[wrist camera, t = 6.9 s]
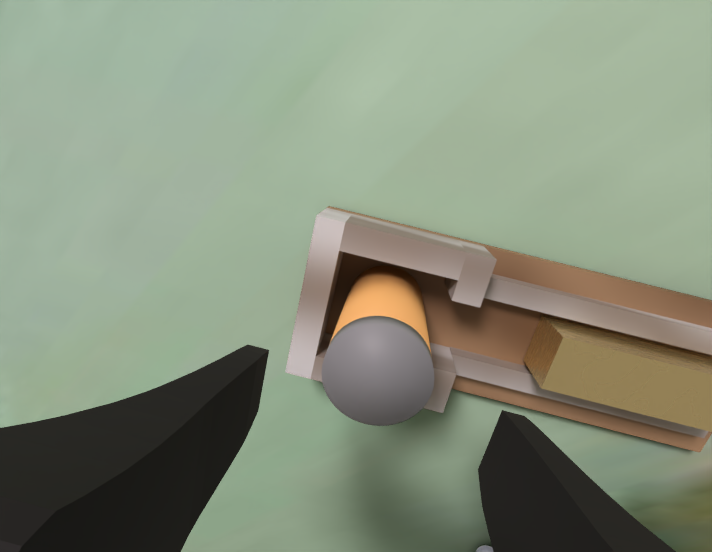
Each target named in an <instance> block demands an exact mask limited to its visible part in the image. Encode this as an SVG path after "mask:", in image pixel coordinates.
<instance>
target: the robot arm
mask: <svg viewBox="0 0 712 552" xmlns="http://www.w3.org/2000/svg"><path fill="white" fill-rule="evenodd" d="M268 353H269V350H267V349H263V348H259V347H255V346H251V345H246V346H244V347H242V348H240V349H238V350H236V351H234V352H232V353H230V354H228V355H226V356H225V357H223V358H221V359H219V360H217V361H215V362H213V363H211V364H209V365H207V366H205V367H203V368H201V369H199V370H197V371H194V372H192V373H190V374H188V375H185V376H183V377H181V378H178V379H176V380H174V381H171V382H169V383H167V384H165V385H162V386H160V387H157V388H155V389H152V390H149V391H147V392H144V393H141V394H138V395H135V396H132V397H129V398H126V399H123V400H120V401H117V402H114V403H110V404H107V405H103V406H99V407H95V408H91V409H88V410H84V411H80V412H76V413H72V414H69V415H65V416H60V417H56V418H51V419H46V420H41V421H37V422H32V423H26V424H21V425H15V426H10V427H4V428H0V552H181V550H182V548H183V546H184V543H185V541H186V539H187V537H188V535H189V534H190V532H191V530H192V528H193V526H194V525H195V523H196V521H197V519H198V518H199V516H200V514H201V513H202V511H203V509H204V508H205V506H206V504H207V503H208V501H209V499H210V498H211V496H212V495H213V493H214V491H215V490H216V488H217V486H218V485H219V483H220V481H221V480H222V478H223V476H224V475H225V473H226V472H227V470H228V468H229V467H230V465H231V463H232V462H233V460H234V458H235V457H236V455H237V453H238V452H239V450H240V448H241V447H242V445H243V443H244V441H245V439H246V437H247V435H248V432H249V430H250V428H251V426H252V424H253V421H254V419H255V417H256V415H257V412H258V408H259V403H260V397H261V392H262V386H263V380H264V375H265V369H266V364H267V358H268ZM478 472H479V482H480V491H481V499H482V507H483V511H484V515H485V520H486V524H487V528H488V532H489V536H490V540H491V544H492V547H490V546H486V545H483V546H480V547H478V549H477V550H476V552H676V551H674V550H673V549H672V548H671V547H669V546H668V545H667V544H666V543H664V542H663V541H662V540H661V539H659V538H658V537H657V536H656V535H654V534H653V533H652V532H651V531H649V530H648V529H647V528H646V527H644V526H643V525H642V524H641V523H640V522H638V521H637V520H636V519H635V518H634V517H632V516H631V515H630V514H629V513H628V512H627V511H626V510H624V509H623V508H622V507H621V506H620V505H619V504H618V503H617V502H615V501H614V500H613V499H612V498H611V497H610V496H609V495H608V494H607V493H605V492H604V491H603V490H602V489H601V488H600V487H599V486H598V485H597V484H596V483H595V482H594V481H592V480H591V479H590V478H589V477H588V476H587V475H586V474H585V473H584V472H583V471H582V470H581V469H580V468H579V467H578V466H577V465H576V464H575V463H574V462H573V461H572V460H571V459H570V458H569V457H568V456H566V455H565V454H564V453H563V452H562V451H561V450H560V449H559V448H558V447H557V446H556V445H555V444H554V443H553V442H552V441H551V440H550V439H549V438H548V437H547V436H546V435H545V434H544V433H543V432H542V431H541V430H540V429H539V428H538V427H537V426H535V425H534V424H533V423H532V422H531V421H530V420H529V419H527V418H526V417H525V416H522V415H518V414H514V413H511V412H507V411H503V410H502V412H501V415H500V417H499V419H498V422H497V424H496V427H495V429H494V432H493V434H492V437H491V439H490V442H489V444H488V446H487V449H486V451H485V454H484V456H483V459H482V461H481V464H480V466H479V469H478Z"/></svg>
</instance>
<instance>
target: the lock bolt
mask: <svg viewBox="0 0 712 552" xmlns="http://www.w3.org/2000/svg"><path fill="white" fill-rule="evenodd" d="M524 362H525V363H526V365H527V367H528V368H529V370H530V371H531V373H532V375H533V376H534V378H535V379H536V381H537V383H538V384H539V386H540V388H541V389H545V390H549V391H553V392H557V393H561V394H565V395H569V396H573V397H577V398H580V399H584V400H588V401H592V402H596V403H600V404H604V405H608V406H612V407H616V408H620V409H623V410H627V411H631V412H635V413H639V414H643V415H647V416H651V417H655V418H659V419H663V420H666V421H670V422H674V423H678V424H682V425H686V426H690V427H694V428H698V429H702V430H706V431H709V432H712V357H711V356H707V355H703V354H699V353H695V352H691V351H687V350H683V349H679V348H675V347H671V346H667V345H663V344H659V343H655V342H651V341H647V340H643V339H639V338H635V337H631V336H627V335H623V334H619V333H615V332H611V331H607V330H603V329H599V328H595V327H591V326H587V325H583V324H579V323H575V322H571V321H567V320H563V319H559V318H555V317H551V316H547V315H543V314H542V316H541V318H540V320H539V323H538V325H537V328H536V330H535V333H534V335H533V338H532V340H531V342H530V345H529V347H528V350H527V352H526V355H525V357H524Z"/></svg>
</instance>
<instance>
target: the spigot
mask: <svg viewBox="0 0 712 552" xmlns="http://www.w3.org/2000/svg"><path fill="white" fill-rule="evenodd" d="M322 383H323V386H324V389H325V392H326V394H327V396H328V398H329V399H330V401H331V402H332V403H333V404H334V406H335V407H336V408H337V409H338V410H339V411H341V412H342V413H343V414H345V415H346V416H348V417H349V418H351V419H353V420H356V421H358V422H361V423H364V424H369V425H377V426H385V425H393V424H397V423H400V422H403V421H405V420H408V419H409V418H411V417H413V416H414V415H416V414H417V413H418V412H419V411H420V410H421V409H422V408H423V407H424V406H425V405H426V403H427V402H428V400H429V398H430V396H431V394H432V391H433V387H434V369H433V362H432V356H431V349H430V343H429V336H428V330H427V324H426V317H425V311H424V304H423V298H422V293H421V290H420V287H419V285H418V283H417V282H416V280H415V279H414V278H413V277H412V276H411V275H410V274H409V273H407V272H406V271H404V270H402V269H400V268H397V267H394V266H387V265H383V266H376V267H372V268H370V269H368V270H366V271H364V272H363V273H361V274H360V275H359V276H358V277H357V278H356V279H355V281H354V282H353V284H352V286H351V288H350V291H349V294H348V296H347V299H346V302H345V304H344V307H343V310H342V312H341V315H340V317H339V320H338V323H337V325H336V328H335V331H334V333H333V336H332V339H331V341H330V344H329V347H328V349H327V352H326V355H325V357H324V360H323V364H322Z"/></svg>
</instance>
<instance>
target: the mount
mask: <svg viewBox="0 0 712 552" xmlns="http://www.w3.org/2000/svg"><path fill="white" fill-rule="evenodd" d="M383 265H387V266H394V267H397V268H400V269H402V270H404V271H406V272H407V273H409V274H410V275H411V276H412V277H413V278H414V279H415V280H416V282H417V283H418V285H419V287H420V290H421V293H422V298H423V304H424V311H425V317H426V324H427V330H428V336H429V343H430V349H431V356H432V362H433V369H434V387H433V391H432V394H431V396H430V398H429V400H428V402H427V403H426V405H425V406H424V407H423V408H424V409H428V410H432V411H436V412H440V413H443V411H444V408H445V406H446V403H447V400H448V397H449V394H450V391H451V389H455V390H459V391H463V392H467V393H471V394H475V395H478V396H482V397H486V398H490V399H494V400H498V401H502V402H506V403H510V404H513V405H517V406H521V407H525V408H529V409H533V410H537V411H541V412H545V413H548V414H552V415H556V416H560V417H564V418H568V419H572V420H576V421H579V422H583V423H587V424H591V425H595V426H599V427H603V428H607V429H611V430H614V431H618V432H622V433H626V434H630V435H634V436H638V437H642V438H645V439H649V440H653V441H657V442H661V443H665V444H669V445H673V446H677V447H680V448H684V449H688V450H692V451H696V452H701V450H702V448H703V447H704V445H705V444H706V442H707V440H708V439H709V437H710V435H711V434H712V432H709V431H706V430H702V429H698V428H694V427H690V426H686V425H682V424H678V423H674V422H670V421H666V420H663V419H659V418H655V417H651V416H647V415H643V414H639V413H635V412H631V411H627V410H623V409H620V408H616V407H612V406H608V405H604V404H600V403H596V402H592V401H588V400H584V399H580V398H577V397H573V396H569V395H565V394H561V393H557V392H553V391H549V390H545V389H541V388H540V386H539V384H538V383H537V381H536V379H535V378H534V376H533V375H532V373H531V371H530V370H529V368H528V367H527V365H526V363H525V362H524V357H525V355H526V352H527V350H528V347H529V345H530V342H531V340H532V338H533V335H534V333H535V330H536V328H537V325H538V323H539V320H540V318H541V316H542V314H543V315H547V316H551V317H555V318H559V319H563V320H567V321H571V322H575V323H579V324H583V325H587V326H591V327H595V328H599V329H603V330H607V331H611V332H615V333H619V334H623V335H627V336H631V337H635V338H639V339H643V340H647V341H651V342H655V343H659V344H663V345H667V346H671V347H675V348H679V349H683V350H687V351H691V352H695V353H699V354H703V355H707V356H711V357H712V300H708V299H704V298H700V297H696V296H692V295H688V294H684V293H680V292H676V291H672V290H668V289H664V288H660V287H655V286H651V285H647V284H643V283H639V282H635V281H631V280H627V279H623V278H619V277H615V276H611V275H607V274H603V273H599V272H595V271H590V270H586V269H582V268H578V267H574V266H570V265H566V264H562V263H558V262H554V261H550V260H546V259H542V258H538V257H534V256H529V255H525V254H521V253H517V252H513V251H509V250H505V249H501V248H497V247H493V246H489V245H485V244H481V243H477V242H473V241H469V240H464V239H460V238H456V237H452V236H448V235H444V234H440V233H436V232H432V231H428V230H424V229H420V228H416V227H412V226H408V225H404V224H399V223H395V222H391V221H387V220H383V219H379V218H375V217H371V216H367V215H363V214H359V213H355V212H351V211H347V210H343V209H339V208H334V207H330V206H329V207H327V208H326V209H325V210H323V211H322V212H320V213H319V214H318V215H316V220H315V225H314V230H313V235H312V240H311V245H310V250H309V255H308V260H307V265H306V270H305V275H304V280H303V286H302V291H301V296H300V301H299V306H298V311H297V316H296V321H295V326H294V331H293V336H292V341H291V346H290V351H289V356H288V361H287V366H286V371H285V372H286V373H290V374H293V375H297V376H301V377H305V378H309V379H313V380H317V381H320V382H322V364H323V360H324V357H325V355H326V352H327V349H328V347H329V344H330V341H331V339H332V336H333V333H334V331H335V328H336V325H337V323H338V320H339V317H340V315H341V312H342V310H343V307H344V304H345V302H346V299H347V296H348V294H349V291H350V288H351V286H352V284H353V282H354V281H355V279H356V278H357V277H358V276H359V275H360V274H361V273H363V272H364V271H366V270H368V269H370V268H372V267H376V266H383Z"/></svg>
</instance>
